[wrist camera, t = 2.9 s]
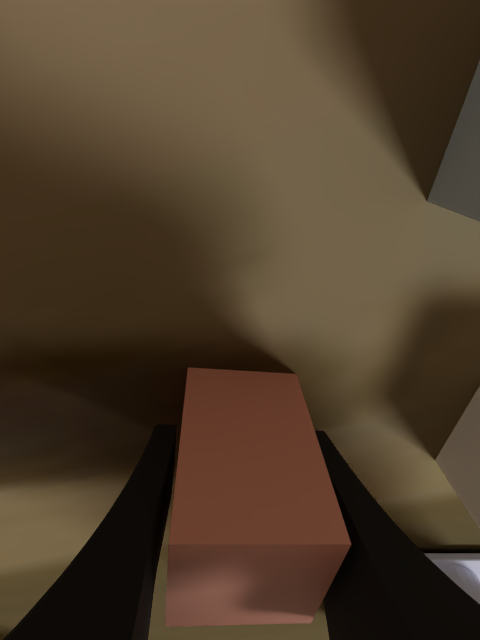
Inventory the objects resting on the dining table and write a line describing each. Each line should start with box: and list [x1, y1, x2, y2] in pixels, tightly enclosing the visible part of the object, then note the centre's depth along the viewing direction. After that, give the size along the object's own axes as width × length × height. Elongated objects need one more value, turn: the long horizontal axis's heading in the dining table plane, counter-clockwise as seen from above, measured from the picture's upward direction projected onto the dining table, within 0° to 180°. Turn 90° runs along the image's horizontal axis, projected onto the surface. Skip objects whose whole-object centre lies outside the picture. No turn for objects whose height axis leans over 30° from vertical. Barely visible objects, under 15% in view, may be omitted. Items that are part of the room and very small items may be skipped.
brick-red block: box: [165, 367, 351, 627], centre depth 11 cm, size 4×4×6 cm
